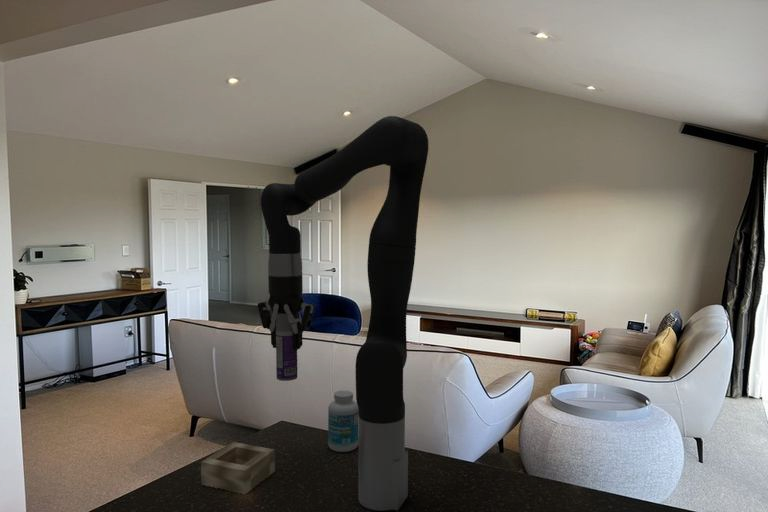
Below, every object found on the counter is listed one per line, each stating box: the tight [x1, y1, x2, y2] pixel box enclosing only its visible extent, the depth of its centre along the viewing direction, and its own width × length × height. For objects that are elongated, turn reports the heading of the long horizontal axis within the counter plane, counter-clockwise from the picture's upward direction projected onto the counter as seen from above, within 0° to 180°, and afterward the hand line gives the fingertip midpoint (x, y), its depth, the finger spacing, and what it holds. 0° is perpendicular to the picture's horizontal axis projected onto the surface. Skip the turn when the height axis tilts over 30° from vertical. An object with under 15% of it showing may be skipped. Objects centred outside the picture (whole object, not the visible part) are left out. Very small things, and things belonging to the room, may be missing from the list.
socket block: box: [200, 441, 276, 495], centre depth 118 cm, size 11×11×5 cm
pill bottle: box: [327, 390, 359, 453], centre depth 134 cm, size 8×7×14 cm
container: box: [275, 313, 298, 382], centre depth 123 cm, size 5×5×15 cm
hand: (286, 347), depth 123 cm, fingers closed on container, 4 cm apart
